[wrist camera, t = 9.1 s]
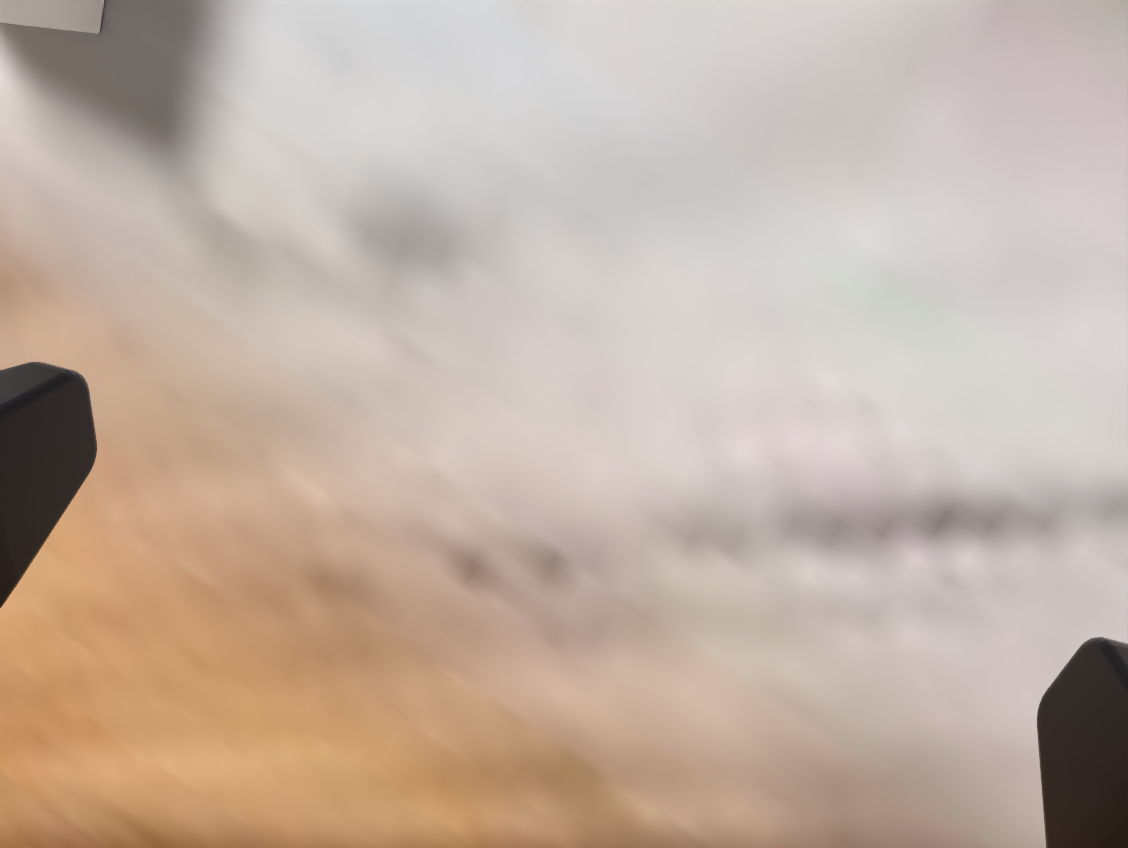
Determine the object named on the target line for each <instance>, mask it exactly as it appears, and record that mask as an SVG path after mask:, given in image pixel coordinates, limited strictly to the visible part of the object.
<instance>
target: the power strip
mask: <svg viewBox="0 0 1128 848" xmlns="http://www.w3.org/2000/svg"><path fill="white" fill-rule="evenodd" d="M103 7H104V0H0V23H8V24H17V25H25V26H34V27H43V28H52V29H60V30H69V31H78V32H87V33H95V34H99V32H100V26H101V19H102V13H103Z"/></svg>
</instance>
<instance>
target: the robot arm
mask: <svg viewBox="0 0 1128 848" xmlns="http://www.w3.org/2000/svg"><path fill="white" fill-rule="evenodd" d="M96 453H97V441H96V434H95V427H94V421H93V414H92V407H91V401H90V394H89V388H88V384H87V382H86V380H85V379H84V377H83V376H82V375H81V374H79V373H78V372H76V371H73V370H70V369H66V368H62V367H58V366H54V365H50V364H47V363H41V362H30V363H26V364H22V365H18V366H15V367H11V368H7V369H4V370H0V608H1V607H2V606H3V604H4V603H5V601H6V600H7V598H8V597H9V595H10V594H11V593H12V591H13V590H14V588H15V587H16V585H17V584H18V582H19V581H20V579H21V578H22V576H23V575H24V573H25V572H26V570H27V569H28V567H29V566H30V564H31V562H32V561H33V559H34V558H35V556H36V555H37V553H38V552H39V550H40V549H41V547H42V546H43V544H44V542H45V541H46V539H47V538H48V536H49V535H50V533H51V532H52V530H53V529H54V527H55V525H56V524H57V522H58V521H59V519H60V518H61V516H62V515H63V513H64V512H65V510H66V509H67V507H68V505H69V504H70V502H71V501H72V499H73V498H74V496H75V495H76V493H77V492H78V490H79V488H80V487H81V485H82V484H83V482H84V481H85V479H86V478H87V476H88V475H89V473H90V471H91V469H92V467H93V464H94V462H95V458H96ZM1037 731H1038V744H1039V757H1040V770H1041V783H1042V796H1043V810H1044V823H1045V836H1046V848H1128V644H1126V643H1123V642H1119V641H1115V640H1111V639H1107V638H1103V637H1097V638H1092V639H1089V640H1088V641H1086V642H1084V643H1083V644H1082V645H1081V647H1080V648H1079V649H1078V650H1077V652H1076V653H1075V654H1074V655H1073V657H1072V658H1071V659H1070V661H1069V662H1068V663H1067V665H1066V666H1065V667H1064V669H1063V670H1062V671H1061V672H1060V674H1059V675H1058V676H1057V678H1056V679H1055V680H1054V682H1053V683H1052V684H1051V686H1050V687H1049V688H1048V689H1047V691H1046V692H1045V694H1044V695H1043V697H1042V700H1041V702H1040V705H1039V709H1038V715H1037Z"/></svg>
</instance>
